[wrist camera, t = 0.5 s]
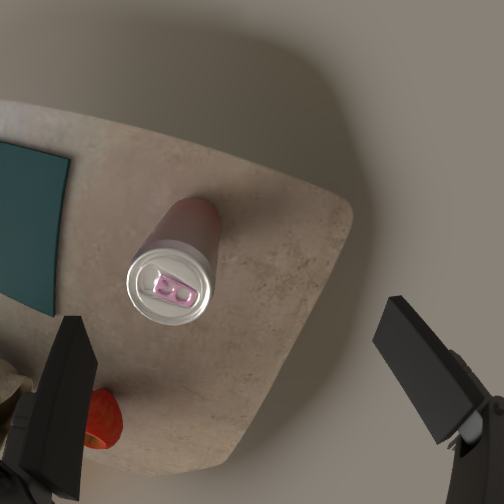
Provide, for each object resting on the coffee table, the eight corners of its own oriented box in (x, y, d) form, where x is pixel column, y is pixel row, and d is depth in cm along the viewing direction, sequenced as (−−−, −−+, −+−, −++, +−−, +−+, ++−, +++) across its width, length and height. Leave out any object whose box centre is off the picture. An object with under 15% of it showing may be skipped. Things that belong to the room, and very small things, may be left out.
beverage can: (206, 257, 34) (193, 340, 21) (158, 235, 33) (114, 306, 19) (230, 210, 33) (230, 270, 19) (179, 186, 31) (140, 229, 17)
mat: (-31, 134, 25) (-34, 134, 25) (71, 159, 29) (68, 159, 28) (-35, 271, 32) (-37, 272, 32) (55, 315, 36) (53, 317, 36)
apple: (121, 416, 44) (108, 464, 34) (78, 393, 42) (58, 440, 32) (137, 392, 42) (123, 446, 32) (89, 367, 40) (66, 418, 30)
